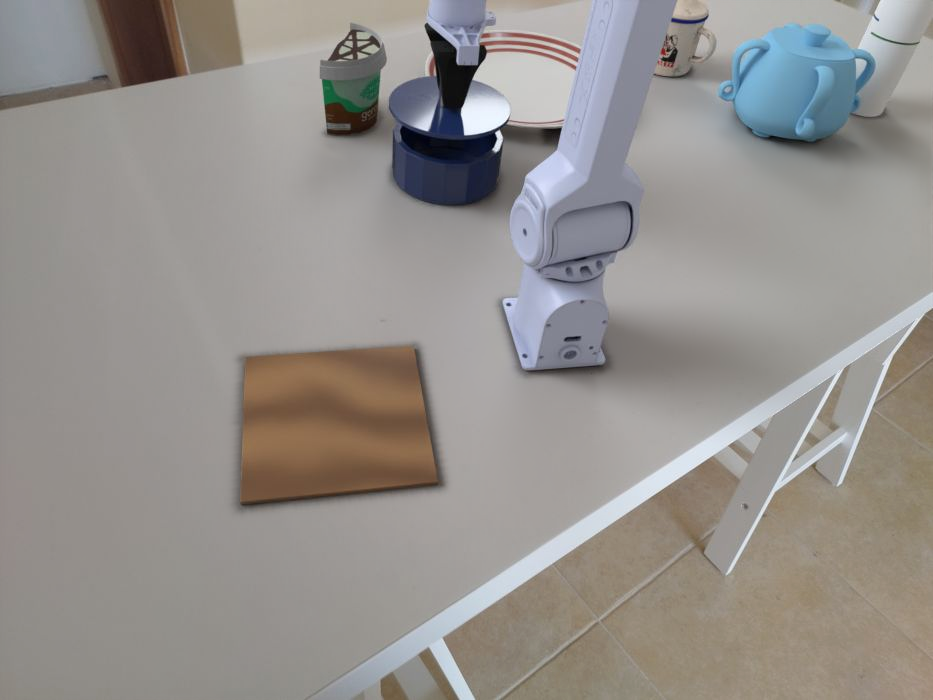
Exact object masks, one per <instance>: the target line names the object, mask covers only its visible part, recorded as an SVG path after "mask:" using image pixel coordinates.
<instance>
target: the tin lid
mask: <svg viewBox="0 0 933 700" xmlns="http://www.w3.org/2000/svg"><path fill="white" fill-rule="evenodd" d="M388 109H389V112H390V115H391V116H392V117H393V118H394V120H396V122H399V123H400V124H402V125H403V126H405V127H406V128H408V129H410V130H412V131H415V132H417V133H420V134H423V135H426V136H431V137H435V138H441V139H451V140H464V139H475V138H480V137H484V136H488V135H491V134H493V133H495V132H497V131H499V130H500V131H501V130H502V129H503V128H504V127H506V126H507V125H506V124H507V123H508V121H509V119H510V115H511V107H510V104H509V102H508V100H507V99H506V98H505V96H504V95H502V94H501V93H500V92H499V91H497V90H496V89H494V88H492V87H491V86H489V85H486V84H484V83H481V82H479V81H475V80H472V82H471V85H470V88H469V91H468V94H467V97H466V100H465V103H464V105H463V107H462V108H444V105H443V102H442V96H441V85H440V88H439V89H438V85H437V78H436V76H427V77H426V76H421V77H417V78H413V79H410V80H407V81H405V82H403V83H401V84H399V85H397V86H396V87H395V88H394V89H393V90H392V91H391V93H390V95H389V97H388Z"/></svg>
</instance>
